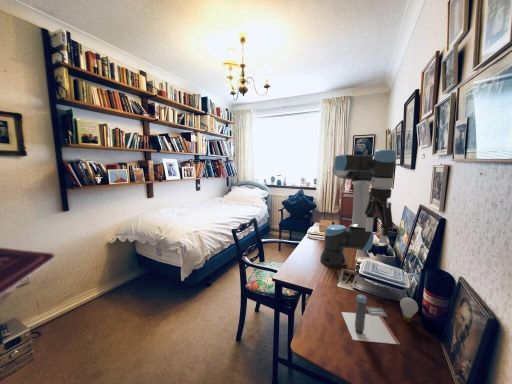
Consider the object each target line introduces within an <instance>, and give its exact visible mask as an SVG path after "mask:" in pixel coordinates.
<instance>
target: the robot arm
mask: <svg viewBox="0 0 512 384" xmlns="http://www.w3.org/2000/svg"><path fill="white" fill-rule="evenodd" d="M396 161H397V152H396V150H394V149H377V150H375V151H374V154H336V155H335V156H334V163H333V166H332V173H333V175H335V177H337V178H340V179H343V180H350V181H351V184H352V185H353V197H352V199H353V200H352V217H351V219H352V220H351V222H352V223H351V224H350V225H349V227H348V228H347V227H346V226H345V225H342V224H330V225H328V226H326V227H325V231H324V243H323V246H324V247H323V250H322V252H321V255H320V256H319V257H320V262H321V263H322V264H323V265H325V266H328V267H330V268H331V267H332V268H344V267H345V266H346V264H347V263H346V262H347V260H346V255H345V251H344V250H345V249H351V250H358V251H367V252H368V251H370V250H371V249H372V247H373V244H374V239H375V237H374V236H375V235H374V231H373V227H374V219H375V214H376V212H377V213H378V214H379V218H380V222H381V225H380V231H379V239H378V243H379V244H388V240H389V239H388V238H389V237H388V236H389V233H390V231H389V230H390V229H393V228H394V223H393V216H392V215H393V214H392V203H391V202H387V200H388V199H390V198H391V197H392V187H393V183H394V175H395V166H396ZM370 187H371V188H370Z"/></svg>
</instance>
